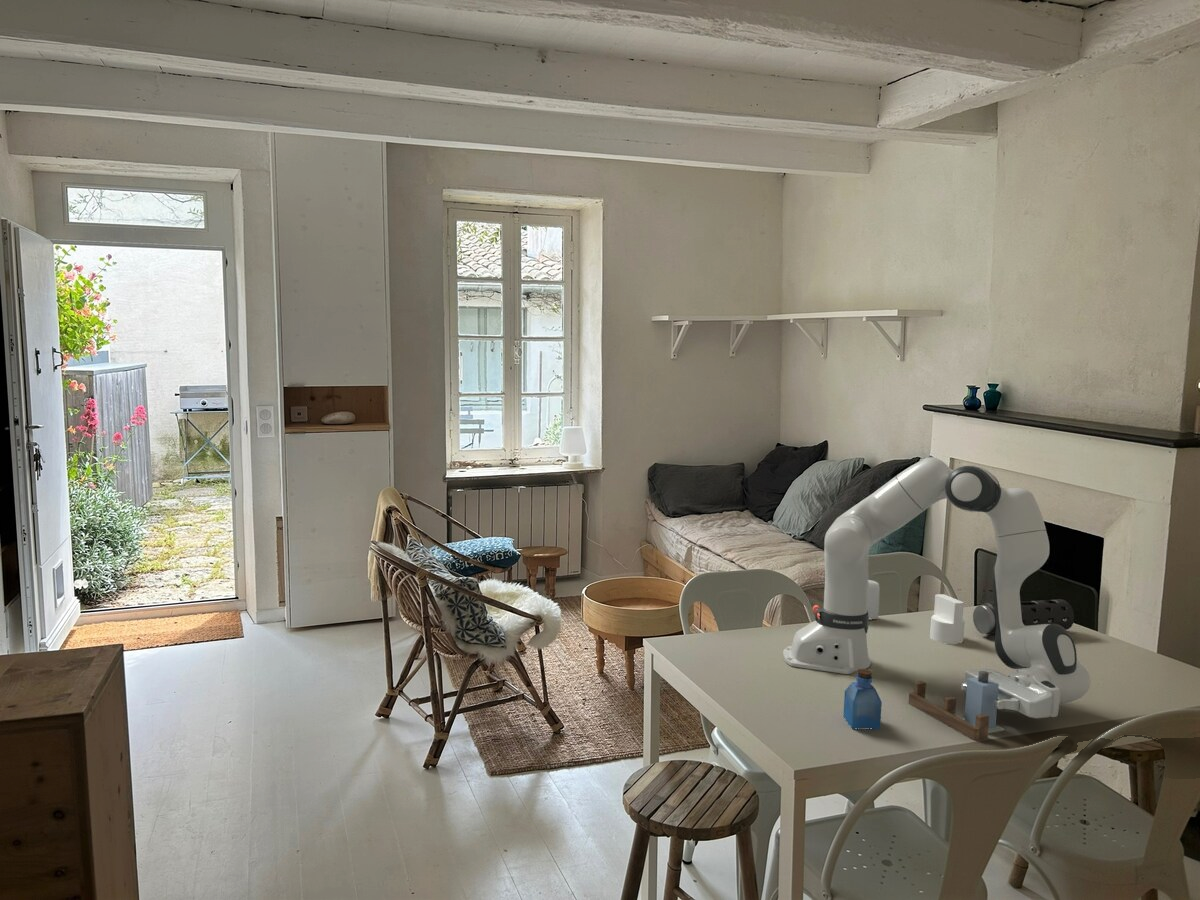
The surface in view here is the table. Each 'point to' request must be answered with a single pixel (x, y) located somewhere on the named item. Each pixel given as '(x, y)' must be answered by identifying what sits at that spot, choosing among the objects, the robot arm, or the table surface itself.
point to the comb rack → (951, 714)
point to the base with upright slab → (947, 620)
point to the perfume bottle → (862, 702)
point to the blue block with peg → (981, 698)
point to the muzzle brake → (1026, 615)
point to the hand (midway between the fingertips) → (979, 695)
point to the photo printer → (873, 599)
